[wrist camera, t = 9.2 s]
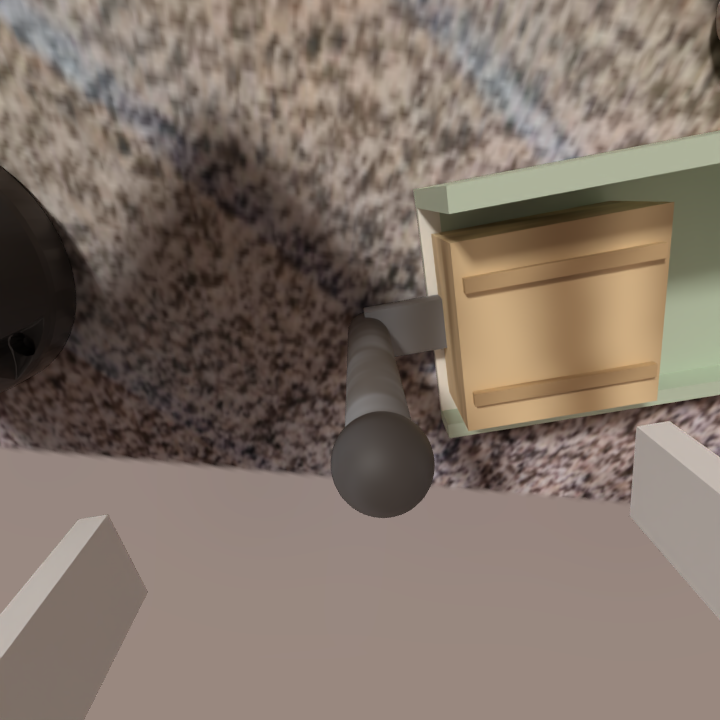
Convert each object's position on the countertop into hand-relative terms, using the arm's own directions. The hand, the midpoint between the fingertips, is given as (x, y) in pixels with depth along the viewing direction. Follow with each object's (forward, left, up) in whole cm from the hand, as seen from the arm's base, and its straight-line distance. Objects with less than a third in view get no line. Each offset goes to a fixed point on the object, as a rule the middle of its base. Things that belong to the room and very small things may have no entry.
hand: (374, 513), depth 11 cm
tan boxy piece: (+7, 0, -16) cm, 18 cm away
